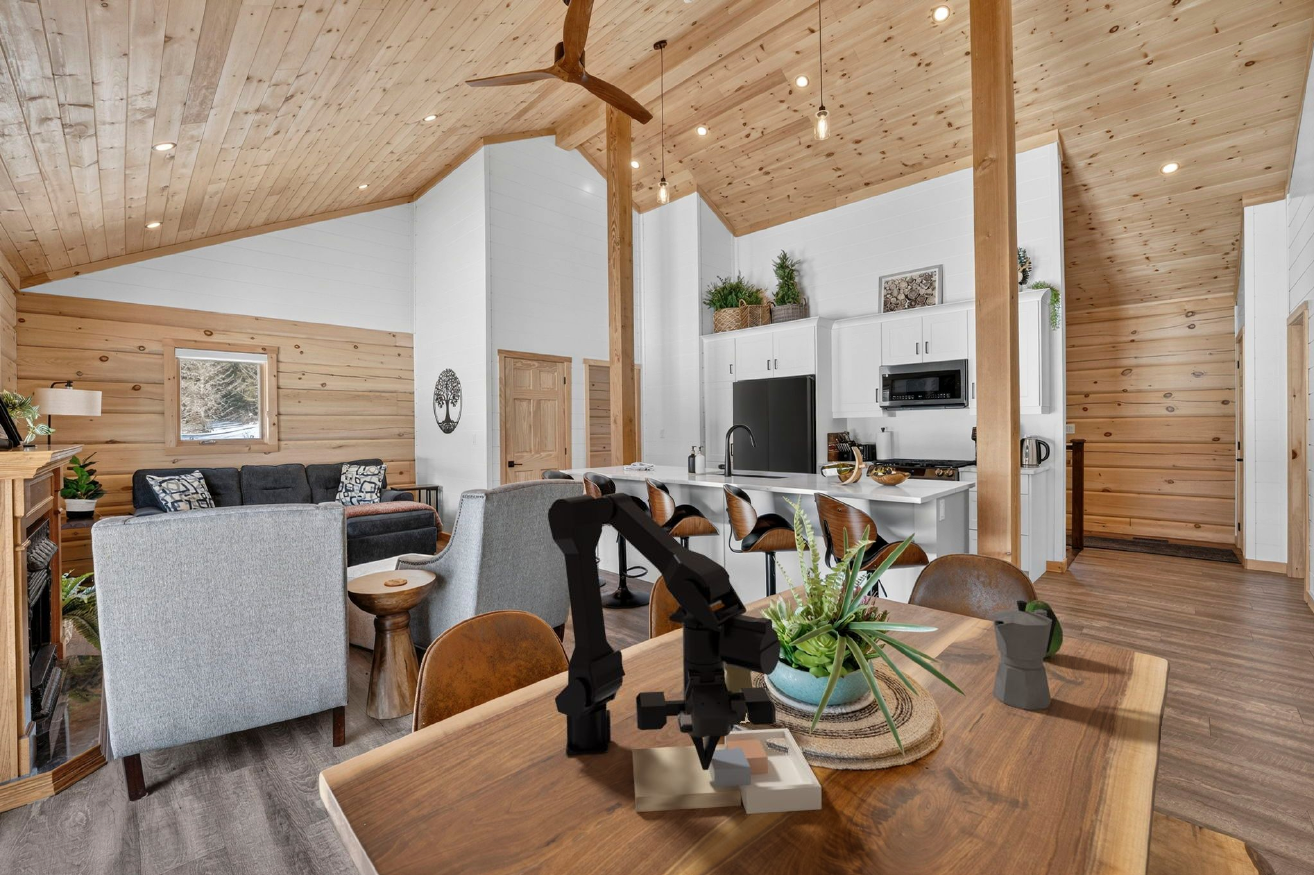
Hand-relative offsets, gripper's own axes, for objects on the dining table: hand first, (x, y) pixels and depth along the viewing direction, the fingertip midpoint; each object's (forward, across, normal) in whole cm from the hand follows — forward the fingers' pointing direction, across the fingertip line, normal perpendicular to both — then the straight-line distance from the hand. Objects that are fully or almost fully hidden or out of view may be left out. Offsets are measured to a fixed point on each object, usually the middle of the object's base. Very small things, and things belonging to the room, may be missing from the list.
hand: (704, 768), depth 86 cm
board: (+3, -3, +3) cm, 5 cm away
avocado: (+3, +78, +41) cm, 88 cm away
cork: (+4, +9, +22) cm, 24 cm away
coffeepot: (+3, +62, +23) cm, 66 cm away
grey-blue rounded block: (+1, +3, 0) cm, 4 cm away
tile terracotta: (+3, +7, +6) cm, 9 cm away
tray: (+3, +9, +3) cm, 10 cm away
